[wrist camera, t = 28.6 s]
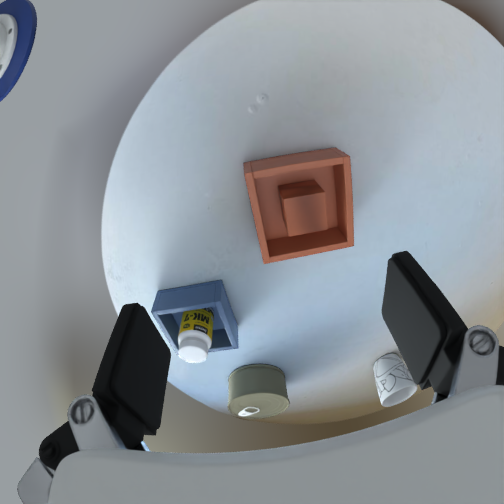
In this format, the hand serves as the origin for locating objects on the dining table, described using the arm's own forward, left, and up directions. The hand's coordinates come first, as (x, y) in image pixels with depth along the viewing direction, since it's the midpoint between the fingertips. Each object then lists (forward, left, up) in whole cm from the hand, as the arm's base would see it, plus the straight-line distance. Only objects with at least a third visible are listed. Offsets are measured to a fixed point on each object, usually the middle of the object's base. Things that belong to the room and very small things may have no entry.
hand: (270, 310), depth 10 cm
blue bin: (-12, -21, -24) cm, 34 cm away
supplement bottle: (-12, -21, -24) cm, 34 cm away
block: (+5, -6, -24) cm, 25 cm away
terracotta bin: (+5, -6, -24) cm, 26 cm away
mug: (+23, -49, -24) cm, 59 cm away
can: (-7, -43, -24) cm, 50 cm away
